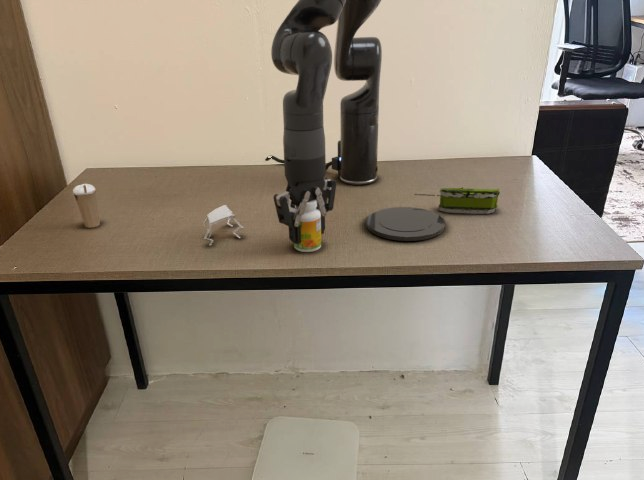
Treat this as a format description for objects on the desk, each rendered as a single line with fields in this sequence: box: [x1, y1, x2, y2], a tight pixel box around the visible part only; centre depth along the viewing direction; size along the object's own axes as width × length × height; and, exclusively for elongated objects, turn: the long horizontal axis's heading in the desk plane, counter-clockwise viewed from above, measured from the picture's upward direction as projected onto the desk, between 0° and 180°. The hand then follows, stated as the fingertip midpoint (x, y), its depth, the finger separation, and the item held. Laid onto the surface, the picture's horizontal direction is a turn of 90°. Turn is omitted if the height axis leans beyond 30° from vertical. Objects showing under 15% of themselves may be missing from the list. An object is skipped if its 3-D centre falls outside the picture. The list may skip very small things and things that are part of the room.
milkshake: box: [72, 183, 101, 229], centre depth 123 cm, size 5×5×10 cm
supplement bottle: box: [293, 200, 322, 253], centre depth 109 cm, size 5×5×10 cm
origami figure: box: [202, 204, 245, 246], centre depth 117 cm, size 12×8×5 cm
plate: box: [366, 206, 446, 242], centre depth 118 cm, size 16×16×1 cm
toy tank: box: [415, 187, 501, 215], centre depth 125 cm, size 7×19×10 cm
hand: (307, 237), depth 111 cm, fingers closed on supplement bottle, 5 cm apart
